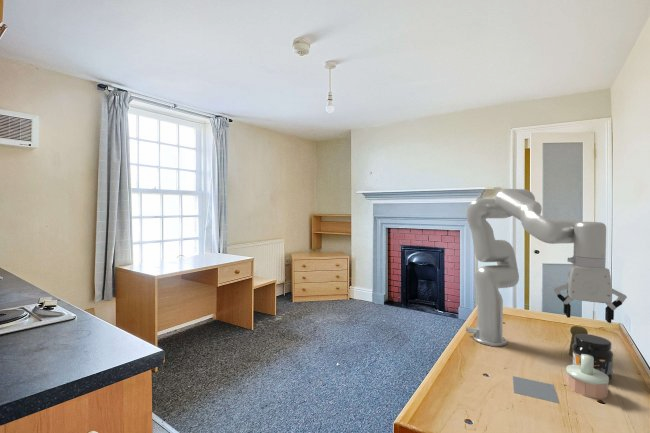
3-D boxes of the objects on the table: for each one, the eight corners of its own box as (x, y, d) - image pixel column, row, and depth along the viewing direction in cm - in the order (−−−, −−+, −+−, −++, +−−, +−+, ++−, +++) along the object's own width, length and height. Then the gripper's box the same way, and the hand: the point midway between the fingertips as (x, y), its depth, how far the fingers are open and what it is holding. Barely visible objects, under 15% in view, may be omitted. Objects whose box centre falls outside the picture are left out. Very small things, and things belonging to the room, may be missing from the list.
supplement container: (564, 369, 111) (565, 335, 111) (584, 364, 115) (585, 331, 115) (599, 385, 102) (600, 347, 101) (620, 379, 105) (621, 342, 105)
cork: (592, 360, 118) (593, 330, 118) (573, 358, 120) (574, 329, 119) (582, 353, 124) (583, 324, 124) (565, 351, 126) (565, 323, 125)
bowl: (570, 395, 96) (571, 379, 96) (565, 380, 104) (565, 365, 104) (611, 403, 92) (611, 387, 92) (602, 388, 100) (602, 372, 100)
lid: (569, 379, 96) (569, 359, 96) (563, 365, 105) (564, 346, 104) (613, 388, 91) (613, 367, 91) (603, 372, 100) (603, 353, 100)
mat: (514, 394, 96) (514, 392, 96) (512, 377, 106) (512, 376, 106) (559, 405, 91) (559, 403, 91) (553, 386, 101) (553, 384, 101)
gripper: (555, 262, 98) (554, 317, 98) (631, 267, 90) (629, 328, 90) (552, 258, 105) (551, 311, 105) (622, 263, 96) (621, 320, 97)
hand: (587, 318), depth 98 cm, fingers open, 9 cm apart
